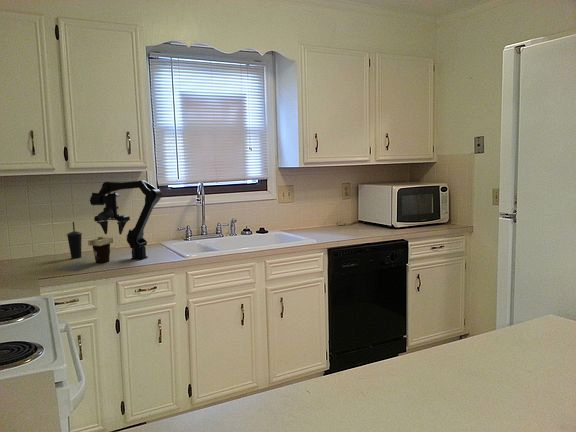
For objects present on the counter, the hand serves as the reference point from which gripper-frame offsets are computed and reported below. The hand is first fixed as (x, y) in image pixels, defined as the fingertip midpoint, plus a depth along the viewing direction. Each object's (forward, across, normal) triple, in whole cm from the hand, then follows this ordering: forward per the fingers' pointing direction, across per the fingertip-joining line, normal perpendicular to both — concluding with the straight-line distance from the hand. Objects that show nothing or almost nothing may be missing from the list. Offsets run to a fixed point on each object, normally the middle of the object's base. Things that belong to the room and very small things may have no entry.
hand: (113, 234), depth 253 cm
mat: (+13, -4, -23) cm, 27 cm away
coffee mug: (+13, +2, -12) cm, 18 cm away
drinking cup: (+13, -22, -4) cm, 26 cm away
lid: (+3, +2, -12) cm, 13 cm away
